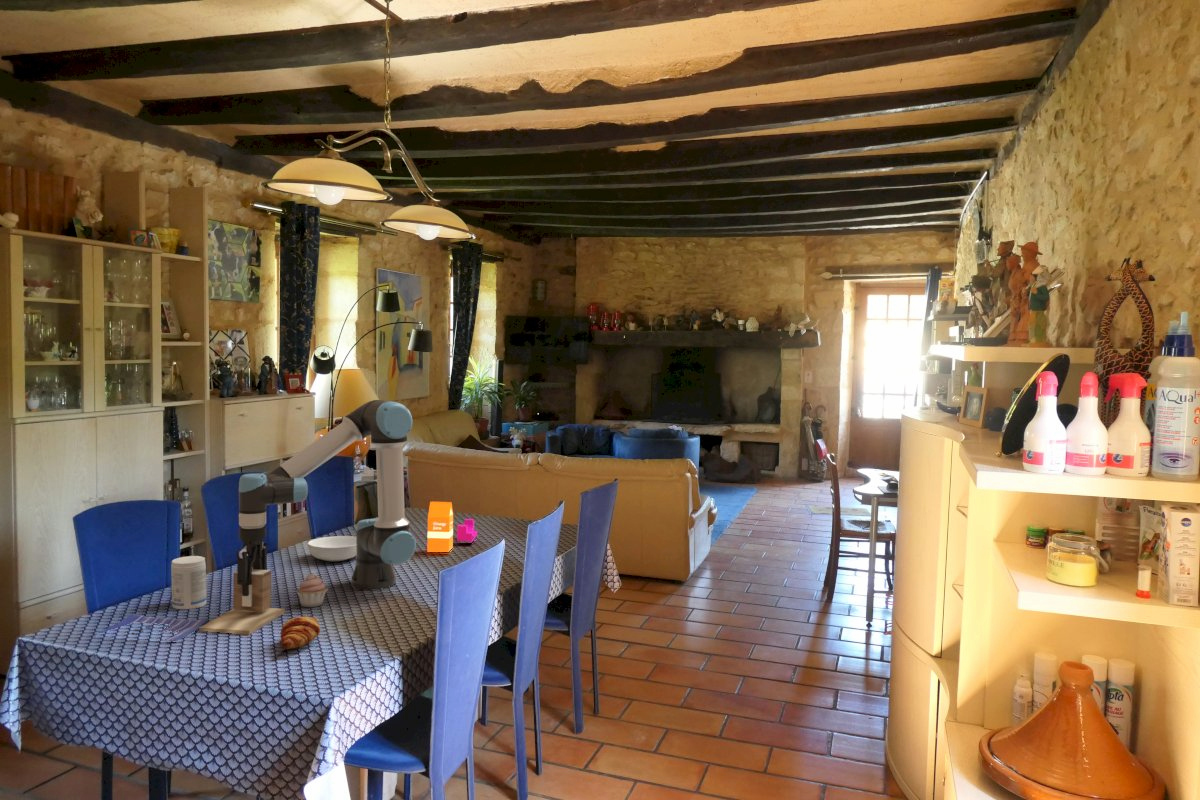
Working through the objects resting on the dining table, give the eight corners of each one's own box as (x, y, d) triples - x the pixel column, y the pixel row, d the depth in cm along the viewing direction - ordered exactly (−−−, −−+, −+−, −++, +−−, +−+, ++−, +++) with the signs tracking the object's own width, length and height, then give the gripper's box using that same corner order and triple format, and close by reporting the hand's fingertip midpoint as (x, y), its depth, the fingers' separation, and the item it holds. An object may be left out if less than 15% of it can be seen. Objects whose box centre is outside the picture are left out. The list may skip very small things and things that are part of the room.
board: (284, 612, 247) (284, 608, 247) (249, 634, 228) (249, 630, 227) (237, 610, 249) (237, 606, 249) (199, 631, 229) (199, 627, 229)
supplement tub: (206, 600, 258) (206, 554, 257) (206, 608, 249) (206, 561, 249) (172, 603, 254) (171, 557, 253) (170, 612, 245) (170, 564, 244)
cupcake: (318, 610, 250) (318, 578, 250) (290, 608, 252) (290, 576, 252) (333, 601, 260) (333, 570, 259) (306, 599, 261) (306, 568, 261)
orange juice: (449, 553, 326) (449, 503, 324) (427, 552, 326) (427, 503, 325) (452, 548, 333) (453, 500, 332) (431, 548, 334) (432, 499, 332)
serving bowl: (372, 553, 323) (372, 536, 322) (351, 567, 302) (351, 548, 301) (322, 551, 325) (322, 534, 324) (297, 564, 304) (297, 546, 303)
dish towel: (132, 621, 238) (132, 612, 238) (210, 625, 236) (210, 615, 236) (91, 642, 221) (91, 632, 220) (175, 646, 219) (175, 636, 219)
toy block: (471, 544, 343) (471, 526, 343) (457, 543, 343) (457, 526, 343) (479, 536, 358) (479, 519, 358) (465, 535, 358) (465, 518, 358)
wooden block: (270, 606, 245) (271, 570, 244) (262, 611, 240) (262, 574, 239) (242, 604, 246) (242, 568, 245) (233, 609, 241) (233, 572, 240)
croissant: (306, 639, 233) (291, 615, 233) (336, 621, 233) (321, 597, 233) (276, 665, 212) (260, 639, 212) (309, 646, 212) (293, 620, 212)
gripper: (256, 519, 251) (256, 593, 252) (223, 531, 233) (223, 611, 234) (279, 520, 250) (279, 595, 251) (248, 533, 232) (247, 613, 234)
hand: (252, 603), depth 243 cm, fingers closed on wooden block, 5 cm apart
